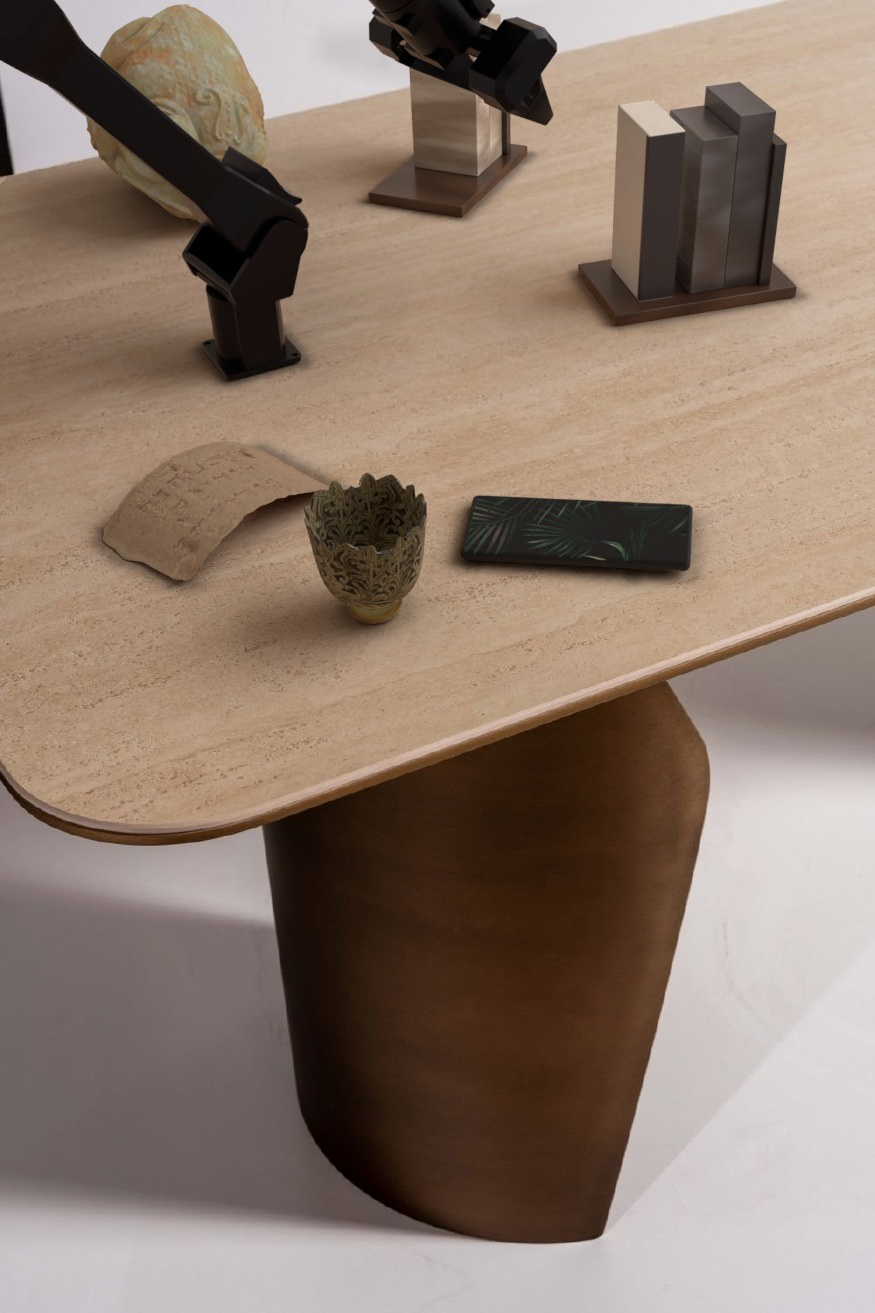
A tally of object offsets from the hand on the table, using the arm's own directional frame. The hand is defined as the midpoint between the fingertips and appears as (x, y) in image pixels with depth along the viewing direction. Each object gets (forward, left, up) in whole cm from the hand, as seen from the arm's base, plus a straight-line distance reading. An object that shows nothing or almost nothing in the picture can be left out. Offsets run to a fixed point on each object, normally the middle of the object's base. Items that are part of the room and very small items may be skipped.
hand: (514, 104), depth 117 cm
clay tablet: (-24, +37, -14) cm, 46 cm away
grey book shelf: (-11, -10, -14) cm, 21 cm away
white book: (-11, -6, -13) cm, 18 cm away
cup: (-39, +32, -14) cm, 52 cm away
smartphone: (-39, +17, -14) cm, 44 cm away
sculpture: (+29, +21, -14) cm, 39 cm away
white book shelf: (+20, -4, -14) cm, 25 cm away
